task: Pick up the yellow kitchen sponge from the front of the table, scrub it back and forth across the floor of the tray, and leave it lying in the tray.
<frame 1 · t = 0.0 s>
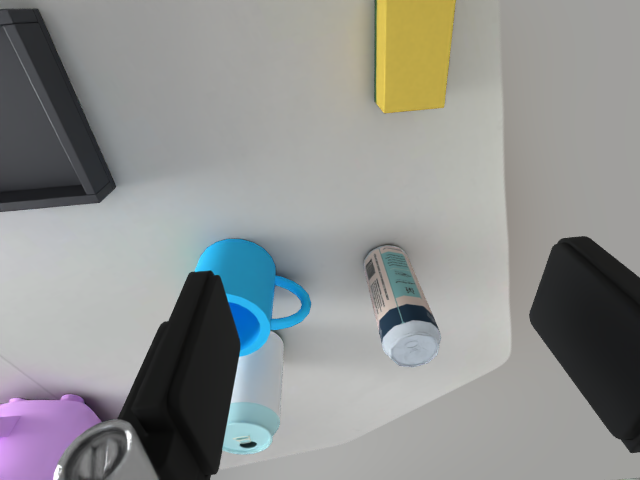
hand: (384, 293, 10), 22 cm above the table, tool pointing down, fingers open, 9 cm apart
can: (256, 341, 44), on the table
beer can: (384, 259, 38), on the table
mug: (256, 271, 38), on the table
teapot: (59, 415, 51), on the table
sponge: (403, 50, 27), on the table
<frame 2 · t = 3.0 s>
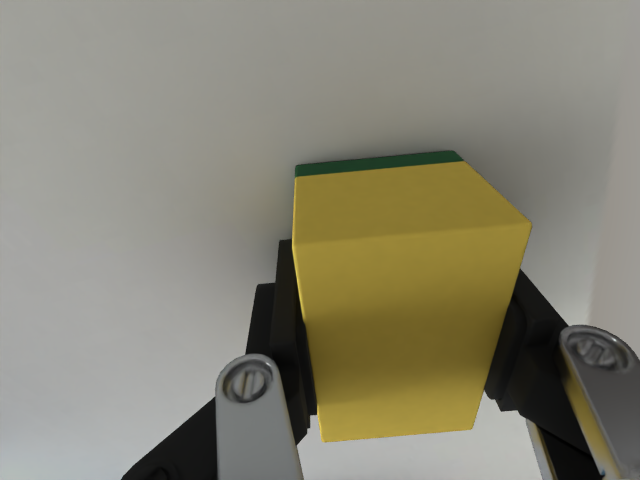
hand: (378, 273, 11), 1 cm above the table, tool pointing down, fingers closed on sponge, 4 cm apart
sponge: (374, 258, 12), on the table, touching gripper
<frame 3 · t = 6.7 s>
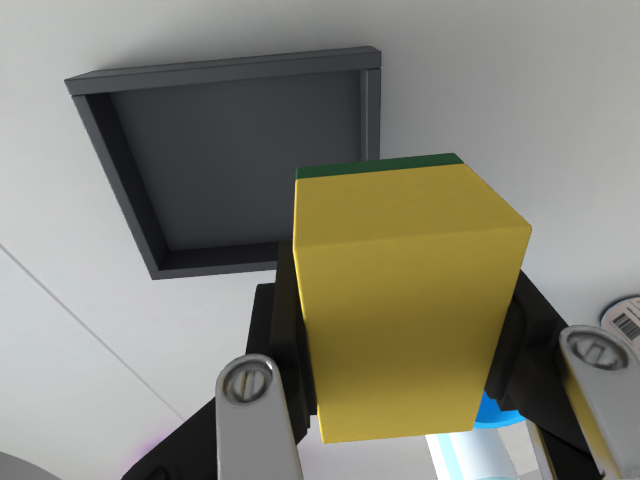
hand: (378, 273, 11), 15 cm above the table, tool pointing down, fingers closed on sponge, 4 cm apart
tray: (252, 167, 24), on the table
can: (444, 390, 41), on the table
beer can: (621, 310, 34), on the table
mug: (478, 322, 34), on the table
sponge: (374, 260, 12), point 14 cm above the table, touching gripper
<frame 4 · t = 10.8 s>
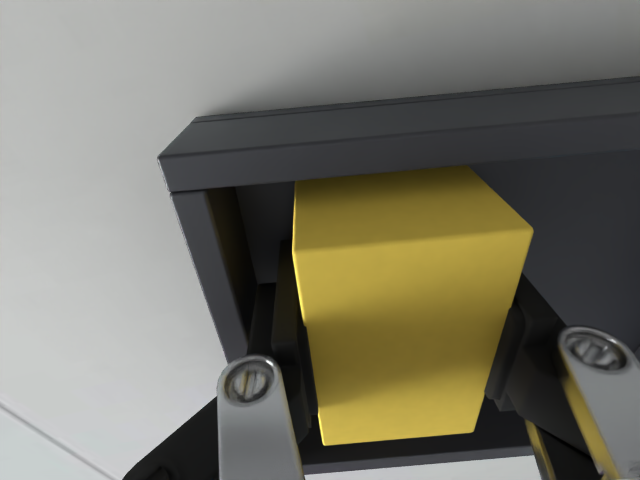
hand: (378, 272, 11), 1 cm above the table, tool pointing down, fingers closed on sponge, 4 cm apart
tray: (465, 283, 13), on the table
sponge: (374, 261, 12), point 1 cm above the table, touching gripper, tray
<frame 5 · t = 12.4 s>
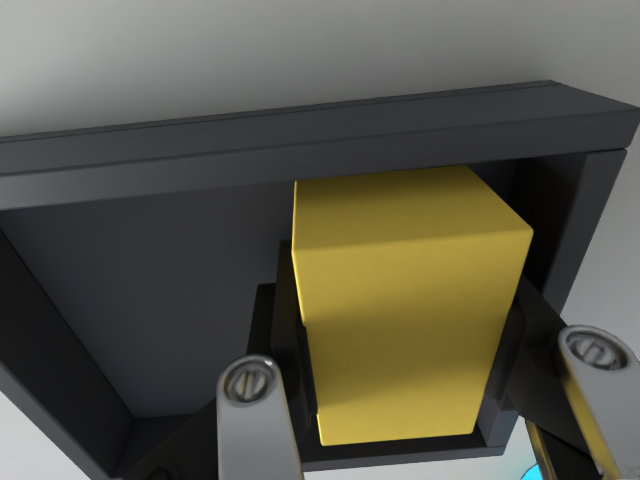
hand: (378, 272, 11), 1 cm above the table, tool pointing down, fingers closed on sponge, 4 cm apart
tray: (277, 298, 13), on the table
sponge: (374, 261, 12), point 1 cm above the table, touching gripper
when the fingers open (1 cm above the table, at t = 15.5 s): sponge stays where it is, resting on tray.
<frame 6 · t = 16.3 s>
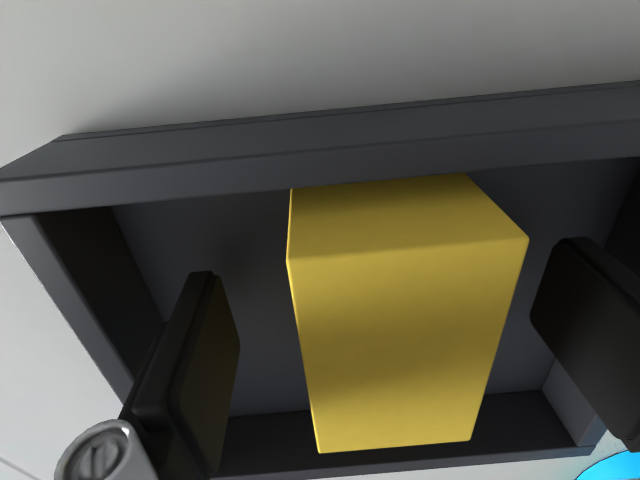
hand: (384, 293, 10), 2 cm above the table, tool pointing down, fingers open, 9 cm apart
tray: (371, 296, 13), on the table
sponge: (371, 266, 11), point 1 cm above the table, touching tray
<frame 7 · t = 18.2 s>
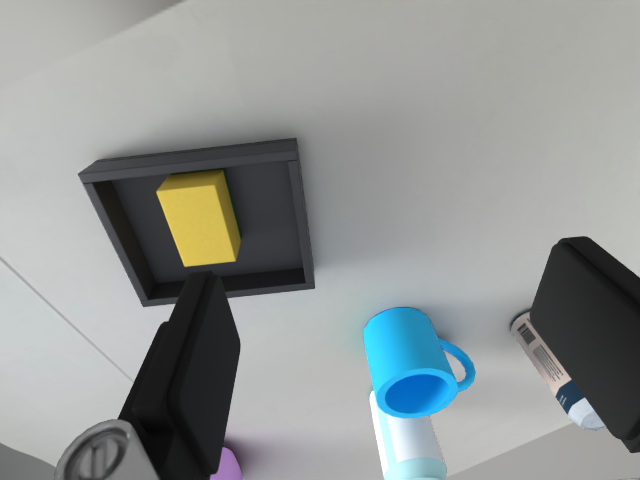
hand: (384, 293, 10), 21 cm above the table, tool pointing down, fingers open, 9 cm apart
tray: (217, 220, 32), on the table
can: (393, 390, 48), on the table
beer can: (528, 320, 42), on the table
mug: (412, 332, 42), on the table
teapot: (194, 457, 55), on the table
sponge: (209, 205, 31), point 1 cm above the table, touching tray
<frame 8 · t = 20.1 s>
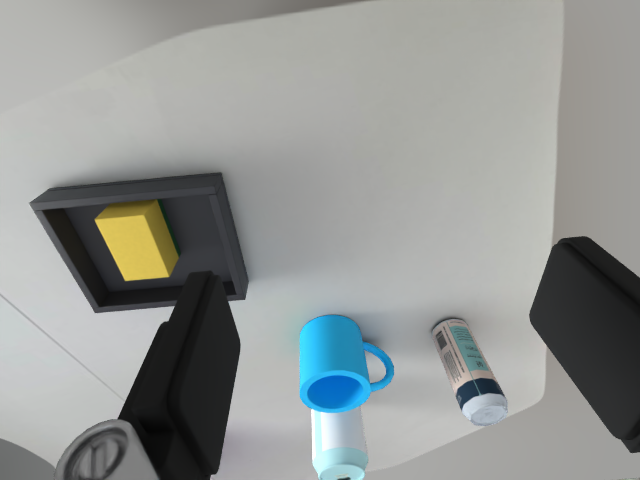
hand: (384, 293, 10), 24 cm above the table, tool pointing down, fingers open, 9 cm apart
tray: (158, 239, 37), on the table
can: (334, 387, 53), on the table
beer can: (448, 327, 47), on the table
mug: (344, 337, 47), on the table
sponge: (149, 227, 36), point 1 cm above the table, touching tray
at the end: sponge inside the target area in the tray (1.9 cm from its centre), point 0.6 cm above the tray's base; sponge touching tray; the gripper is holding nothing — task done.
